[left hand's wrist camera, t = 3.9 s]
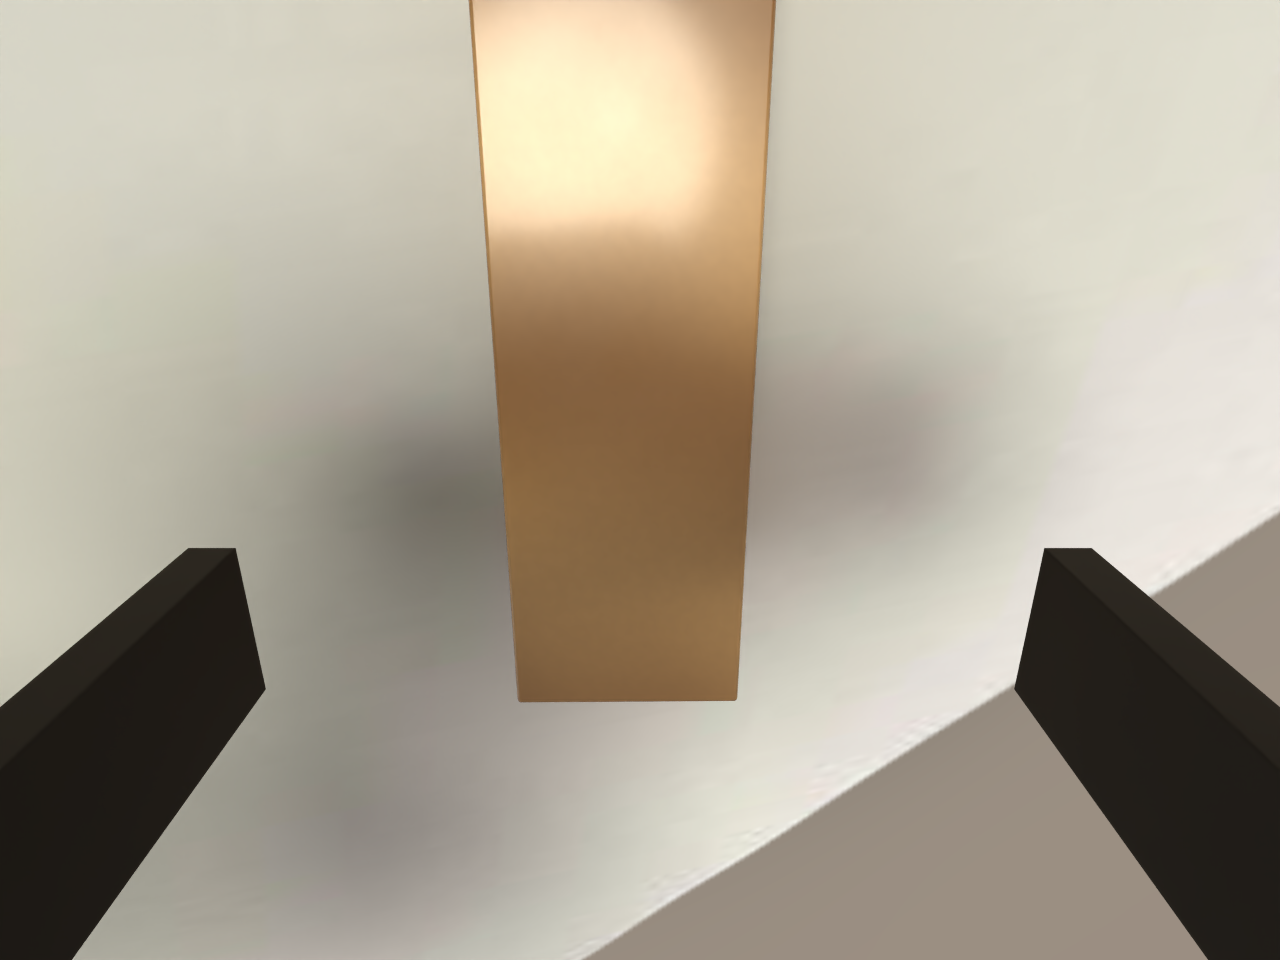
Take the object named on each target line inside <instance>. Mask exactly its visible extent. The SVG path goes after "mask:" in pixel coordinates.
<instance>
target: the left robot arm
mask: <svg viewBox="0 0 1280 960" xmlns="http://www.w3.org/2000/svg"><path fill="white" fill-rule="evenodd" d="M265 689H266V688H265V684H264V679H263V674H262V670H261V665H260V660H259V656H258V651H257V646H256V641H255V637H254V632H253V627H252V623H251V618H250V613H249V609H248V604H247V599H246V595H245V590H244V585H243V581H242V576H241V571H240V567H239V562H238V557H237V553H236V548H188V549H187V550H186V551H184V552H183V553H182V554H181V555H180V556H179V557H177V558H176V559H175V560H174V561H173V562H171V563H170V564H169V565H168V566H167V567H166V568H164V569H163V570H162V571H161V572H160V573H158V574H157V575H156V576H155V577H154V578H153V579H151V580H150V581H149V582H148V583H147V584H145V585H144V586H143V587H142V588H141V589H139V590H138V591H137V592H136V593H135V594H134V595H132V596H131V597H130V598H129V599H128V600H126V601H125V602H124V603H123V604H122V605H121V606H119V607H118V608H117V609H116V610H115V611H113V612H112V613H111V614H110V615H109V616H108V617H106V618H105V619H104V620H103V621H102V622H100V623H99V624H98V625H97V626H96V627H95V628H93V629H92V630H91V631H90V632H89V633H87V634H86V635H85V636H84V637H83V638H81V639H80V640H79V641H78V642H77V643H76V644H74V645H73V646H72V647H71V648H70V649H68V650H67V651H66V652H65V653H64V654H63V655H61V656H60V657H59V658H58V659H57V660H55V661H54V662H53V663H52V664H51V665H50V666H48V667H47V668H46V669H45V670H44V671H42V672H41V673H40V674H39V675H38V676H37V677H35V678H34V679H33V680H32V681H31V682H29V683H28V684H27V685H26V686H25V687H23V688H22V689H21V690H20V691H19V692H18V693H16V694H15V695H14V696H13V697H12V698H10V699H9V700H8V701H7V702H6V703H5V704H3V705H2V706H1V707H0V960H72V959H73V957H74V956H75V955H76V953H77V952H78V950H79V949H80V948H81V946H82V945H83V943H84V942H85V941H86V939H87V938H88V936H89V935H90V934H91V932H92V931H93V930H94V928H95V927H96V925H97V924H98V923H99V921H100V920H101V918H102V917H103V916H104V914H105V913H106V911H107V910H108V909H109V907H110V906H111V904H112V903H113V902H114V900H115V899H116V897H117V896H118V895H119V893H120V892H121V890H122V889H123V888H124V886H125V885H126V883H127V882H128V881H129V879H130V878H131V876H132V875H133V874H134V872H135V871H136V869H137V868H138V867H139V865H140V864H141V863H142V861H143V860H144V858H145V857H146V856H147V854H148V853H149V851H150V850H151V849H152V847H153V846H154V844H155V843H156V842H157V840H158V839H159V837H160V836H161V835H162V833H163V832H164V830H165V829H166V828H167V826H168V825H169V823H170V822H171V821H172V819H173V818H174V816H175V815H176V814H177V812H178V811H179V809H180V808H181V807H182V805H183V804H184V802H185V801H186V800H187V798H188V797H189V796H190V794H191V793H192V791H193V790H194V789H195V787H196V786H197V784H198V783H199V782H200V780H201V779H202V777H203V776H204V775H205V773H206V772H207V770H208V769H209V768H210V766H211V765H212V763H213V762H214V761H215V759H216V758H217V756H218V755H219V754H220V752H221V751H222V749H223V748H224V747H225V745H226V744H227V742H228V741H229V740H230V738H231V737H232V735H233V734H234V733H235V731H236V730H237V728H238V727H239V726H240V724H241V723H242V722H243V720H244V719H245V717H246V716H247V715H248V713H249V712H250V710H251V709H252V708H253V706H254V705H255V703H256V702H257V701H258V699H259V698H260V696H261V695H262V694H263V692H264V691H265ZM1014 689H1015V691H1016V692H1017V694H1018V695H1019V696H1020V698H1021V699H1022V701H1023V702H1024V703H1025V705H1026V706H1027V708H1028V709H1029V710H1030V712H1031V713H1032V714H1033V716H1034V717H1035V719H1036V720H1037V721H1038V723H1039V724H1040V726H1041V727H1042V728H1043V730H1044V731H1045V733H1046V734H1047V735H1048V737H1049V738H1050V740H1051V741H1052V742H1053V744H1054V745H1055V747H1056V748H1057V749H1058V751H1059V752H1060V754H1061V755H1062V756H1063V758H1064V759H1065V761H1066V762H1067V763H1068V765H1069V766H1070V768H1071V769H1072V770H1073V772H1074V773H1075V775H1076V776H1077V777H1078V779H1079V780H1080V781H1081V783H1082V784H1083V786H1084V787H1085V788H1086V790H1087V791H1088V793H1089V794H1090V795H1091V797H1092V798H1093V800H1094V801H1095V802H1096V804H1097V805H1098V807H1099V808H1100V809H1101V811H1102V812H1103V814H1104V815H1105V816H1106V818H1107V819H1108V821H1109V822H1110V823H1111V825H1112V826H1113V828H1114V829H1115V830H1116V832H1117V833H1118V835H1119V836H1120V837H1121V839H1122V840H1123V842H1124V843H1125V844H1126V846H1127V847H1128V849H1129V850H1130V851H1131V853H1132V854H1133V856H1134V857H1135V858H1136V860H1137V861H1138V862H1139V864H1140V865H1141V867H1142V868H1143V869H1144V871H1145V872H1146V874H1147V875H1148V876H1149V878H1150V879H1151V881H1152V882H1153V883H1154V885H1155V886H1156V888H1157V889H1158V890H1159V892H1160V893H1161V895H1162V896H1163V897H1164V899H1165V900H1166V902H1167V903H1168V904H1169V906H1170V907H1171V909H1172V910H1173V911H1174V913H1175V914H1176V916H1177V917H1178V918H1179V920H1180V921H1181V923H1182V924H1183V925H1184V927H1185V928H1186V930H1187V931H1188V932H1189V934H1190V935H1191V937H1192V938H1193V939H1194V941H1195V942H1196V943H1197V945H1198V946H1199V948H1200V949H1201V950H1202V952H1203V953H1204V955H1205V956H1206V957H1207V959H1208V960H1280V707H1279V706H1278V705H1277V704H1275V703H1274V702H1273V701H1272V700H1271V699H1269V698H1268V697H1267V696H1266V695H1265V694H1264V693H1262V692H1261V691H1260V690H1259V689H1258V688H1257V687H1255V686H1254V685H1253V684H1252V683H1251V682H1249V681H1248V680H1247V679H1246V678H1245V677H1243V676H1242V675H1241V674H1240V673H1239V672H1238V671H1236V670H1235V669H1234V668H1233V667H1232V666H1230V665H1229V664H1228V663H1227V662H1226V661H1225V660H1223V659H1222V658H1221V657H1220V656H1219V655H1217V654H1216V653H1215V652H1214V651H1213V650H1212V649H1210V648H1209V647H1208V646H1207V645H1206V644H1204V643H1203V642H1202V641H1201V640H1200V639H1198V638H1197V637H1196V636H1195V635H1194V634H1193V633H1191V632H1190V631H1189V630H1188V629H1187V628H1185V627H1184V626H1183V625H1182V624H1181V623H1180V622H1178V621H1177V620H1176V619H1175V618H1174V617H1172V616H1171V615H1170V614H1169V613H1168V612H1167V611H1165V610H1164V609H1163V608H1162V607H1161V606H1159V605H1158V604H1157V603H1156V602H1155V601H1153V600H1152V599H1151V598H1150V597H1149V596H1148V595H1146V594H1145V593H1144V592H1143V591H1142V590H1141V589H1139V588H1138V587H1137V586H1136V585H1135V584H1133V583H1132V582H1131V581H1130V580H1129V579H1127V578H1126V577H1125V576H1124V575H1123V574H1122V573H1120V572H1119V571H1118V570H1117V569H1116V568H1114V567H1113V566H1112V565H1111V564H1110V563H1109V562H1107V561H1106V560H1105V559H1104V558H1103V557H1101V556H1100V555H1099V554H1098V553H1097V552H1096V551H1094V550H1093V549H1092V548H1044V553H1043V557H1042V562H1041V567H1040V571H1039V576H1038V581H1037V585H1036V590H1035V595H1034V599H1033V604H1032V609H1031V613H1030V618H1029V623H1028V627H1027V632H1026V637H1025V641H1024V646H1023V651H1022V655H1021V660H1020V665H1019V670H1018V674H1017V679H1016V684H1015V688H1014Z"/></svg>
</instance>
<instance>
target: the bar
mask: <svg viewBox="0 0 1280 960" xmlns="http://www.w3.org/2000/svg"><path fill="white" fill-rule="evenodd" d="M775 10H776V0H469V11H470V25H471V39H472V53H473V68H474V82H475V96H476V111H477V125H478V139H479V153H480V168H481V182H482V196H483V210H484V225H485V239H486V253H487V268H488V282H489V296H490V310H491V325H492V339H493V353H494V367H495V382H496V396H497V410H498V424H499V439H500V453H501V467H502V482H503V496H504V510H505V524H506V539H507V553H508V567H509V581H510V596H511V610H512V624H513V639H514V653H515V667H516V681H517V696H518V701H519V702H622V701H735V700H736V699H737V692H738V674H739V656H740V638H741V620H742V602H743V585H744V567H745V549H746V531H747V513H748V495H749V477H750V459H751V441H752V423H753V405H754V387H755V369H756V351H757V333H758V315H759V297H760V279H761V261H762V243H763V225H764V208H765V190H766V172H767V154H768V136H769V118H770V100H771V82H772V64H773V46H774V28H775Z"/></svg>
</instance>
